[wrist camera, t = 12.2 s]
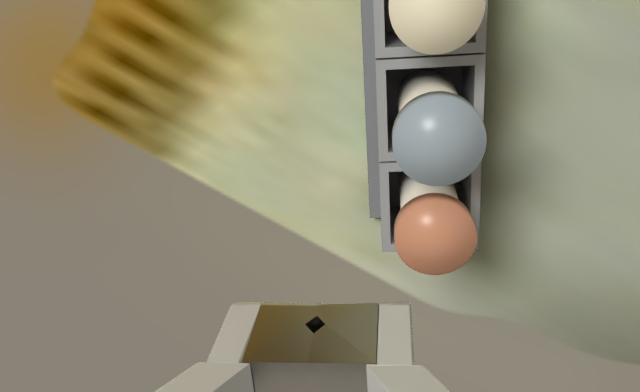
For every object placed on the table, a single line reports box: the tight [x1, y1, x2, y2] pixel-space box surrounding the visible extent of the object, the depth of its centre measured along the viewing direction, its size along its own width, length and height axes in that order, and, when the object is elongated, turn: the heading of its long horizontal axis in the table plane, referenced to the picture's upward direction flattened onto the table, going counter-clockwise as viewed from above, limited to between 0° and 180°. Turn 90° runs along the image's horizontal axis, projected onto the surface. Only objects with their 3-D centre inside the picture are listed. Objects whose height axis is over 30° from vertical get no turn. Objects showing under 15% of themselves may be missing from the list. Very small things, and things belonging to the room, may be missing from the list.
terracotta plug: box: [394, 171, 477, 275], centre depth 33 cm, size 4×4×8 cm
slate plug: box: [392, 69, 487, 186], centre depth 29 cm, size 4×4×8 cm
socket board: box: [361, 0, 488, 252], centre depth 33 cm, size 7×17×6 cm, turn 4°
